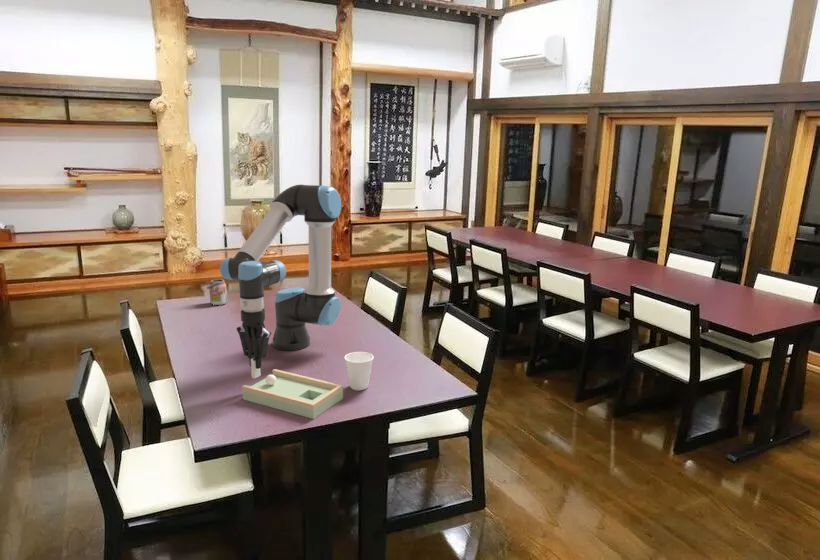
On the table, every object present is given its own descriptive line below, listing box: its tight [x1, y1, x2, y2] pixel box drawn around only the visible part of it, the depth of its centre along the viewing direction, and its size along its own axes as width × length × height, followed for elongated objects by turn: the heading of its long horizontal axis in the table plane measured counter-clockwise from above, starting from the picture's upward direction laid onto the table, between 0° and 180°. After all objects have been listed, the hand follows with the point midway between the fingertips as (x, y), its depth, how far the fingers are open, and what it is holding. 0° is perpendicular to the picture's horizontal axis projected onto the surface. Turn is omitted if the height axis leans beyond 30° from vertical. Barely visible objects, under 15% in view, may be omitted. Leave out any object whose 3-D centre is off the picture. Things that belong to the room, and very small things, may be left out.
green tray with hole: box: [242, 368, 344, 419], centre depth 188 cm, size 28×16×5 cm, turn 63°
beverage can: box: [206, 278, 228, 306], centre depth 289 cm, size 9×8×12 cm
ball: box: [264, 373, 276, 385], centre depth 191 cm, size 4×4×4 cm
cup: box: [343, 351, 375, 391], centre depth 196 cm, size 10×10×11 cm
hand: (256, 376), depth 194 cm, fingers closed
